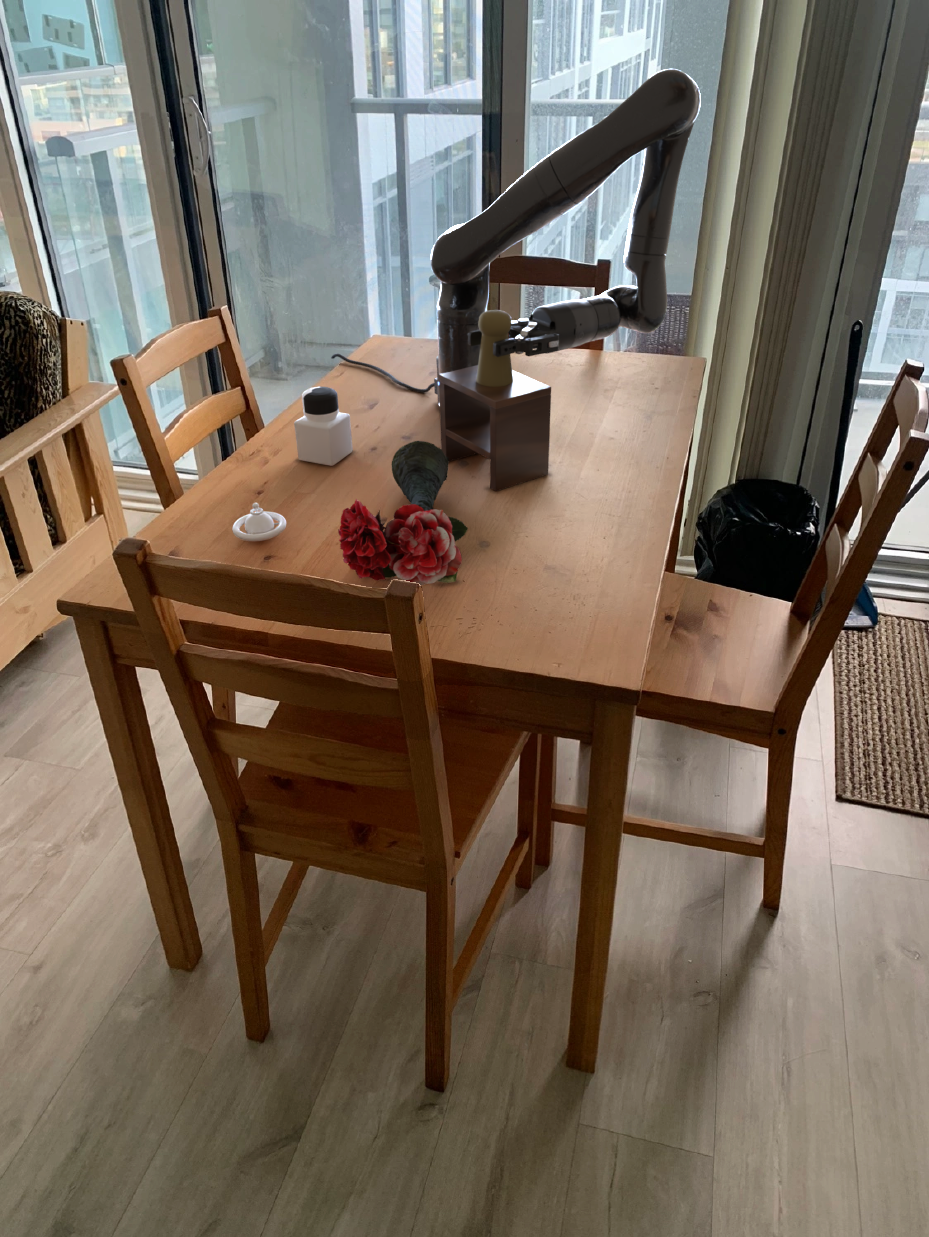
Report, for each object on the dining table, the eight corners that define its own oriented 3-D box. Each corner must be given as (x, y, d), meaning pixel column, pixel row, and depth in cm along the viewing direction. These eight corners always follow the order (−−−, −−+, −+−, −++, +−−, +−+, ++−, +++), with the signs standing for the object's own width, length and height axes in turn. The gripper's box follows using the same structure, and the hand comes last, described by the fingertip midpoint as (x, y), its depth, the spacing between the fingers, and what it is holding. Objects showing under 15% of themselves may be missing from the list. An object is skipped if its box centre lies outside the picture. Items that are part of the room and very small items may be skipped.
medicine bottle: (353, 451, 167) (348, 386, 160) (332, 467, 162) (325, 400, 155) (319, 445, 170) (312, 381, 163) (297, 460, 164) (289, 394, 158)
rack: (441, 459, 164) (438, 374, 155) (492, 444, 169) (492, 361, 160) (495, 491, 152) (496, 401, 144) (548, 474, 158) (551, 386, 149)
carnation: (414, 536, 156) (420, 646, 126) (323, 471, 149) (306, 571, 119) (474, 466, 151) (496, 563, 120) (383, 395, 144) (382, 480, 114)
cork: (474, 375, 155) (473, 307, 149) (510, 373, 155) (511, 305, 149) (478, 387, 150) (477, 317, 143) (515, 385, 150) (516, 316, 144)
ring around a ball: (298, 536, 140) (269, 518, 145) (293, 502, 137) (263, 485, 142) (253, 556, 136) (224, 537, 141) (246, 521, 133) (217, 503, 138)
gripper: (537, 293, 158) (455, 310, 151) (593, 312, 148) (509, 331, 141) (535, 338, 163) (456, 356, 155) (590, 359, 153) (508, 380, 145)
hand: (482, 344), depth 148 cm, fingers open, 6 cm apart
